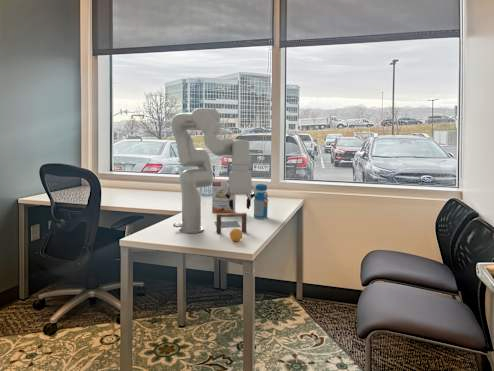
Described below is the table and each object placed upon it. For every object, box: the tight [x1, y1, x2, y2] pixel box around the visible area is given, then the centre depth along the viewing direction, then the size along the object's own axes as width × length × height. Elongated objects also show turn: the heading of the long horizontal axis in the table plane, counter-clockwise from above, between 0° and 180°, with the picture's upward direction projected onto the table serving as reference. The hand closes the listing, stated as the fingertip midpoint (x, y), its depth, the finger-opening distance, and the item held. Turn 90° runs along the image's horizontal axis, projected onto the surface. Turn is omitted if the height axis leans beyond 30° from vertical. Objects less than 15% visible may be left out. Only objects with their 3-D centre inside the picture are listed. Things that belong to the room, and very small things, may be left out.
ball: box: [229, 228, 243, 242], centre depth 182 cm, size 6×6×6 cm
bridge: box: [215, 212, 248, 234], centre depth 197 cm, size 15×3×10 cm, turn 100°
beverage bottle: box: [253, 183, 269, 220], centre depth 231 cm, size 8×8×20 cm
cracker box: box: [211, 178, 237, 214], centre depth 245 cm, size 14×6×21 cm, turn 80°
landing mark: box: [214, 220, 242, 229], centre depth 215 cm, size 13×13×1 cm
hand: (239, 208), depth 171 cm, fingers open, 6 cm apart
